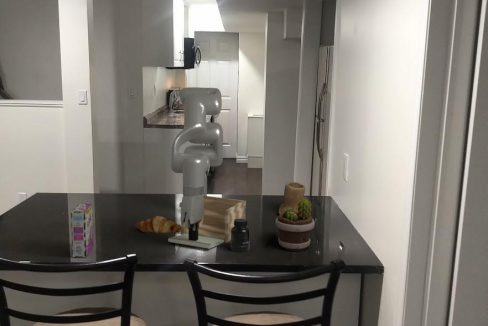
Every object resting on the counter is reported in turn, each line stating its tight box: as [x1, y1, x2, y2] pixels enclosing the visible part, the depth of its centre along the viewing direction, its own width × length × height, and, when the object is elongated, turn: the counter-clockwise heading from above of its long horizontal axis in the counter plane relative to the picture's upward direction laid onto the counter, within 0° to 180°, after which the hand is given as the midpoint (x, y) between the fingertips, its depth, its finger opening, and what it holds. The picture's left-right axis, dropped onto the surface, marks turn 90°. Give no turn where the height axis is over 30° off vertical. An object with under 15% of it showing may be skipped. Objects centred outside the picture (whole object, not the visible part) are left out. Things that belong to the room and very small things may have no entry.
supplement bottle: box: [230, 218, 251, 254], centre depth 168 cm, size 7×7×12 cm
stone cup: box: [278, 181, 306, 215], centre depth 218 cm, size 15×12×15 cm
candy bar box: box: [70, 203, 94, 258], centre depth 165 cm, size 11×5×16 cm, turn 5°
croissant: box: [134, 215, 181, 234], centre depth 190 cm, size 21×10×8 cm, turn 78°
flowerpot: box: [274, 196, 316, 252], centre depth 174 cm, size 14×15×20 cm
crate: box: [180, 195, 247, 243], centre depth 186 cm, size 17×20×13 cm
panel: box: [167, 234, 225, 250], centre depth 174 cm, size 1×17×12 cm
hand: (193, 239), depth 172 cm, fingers closed
